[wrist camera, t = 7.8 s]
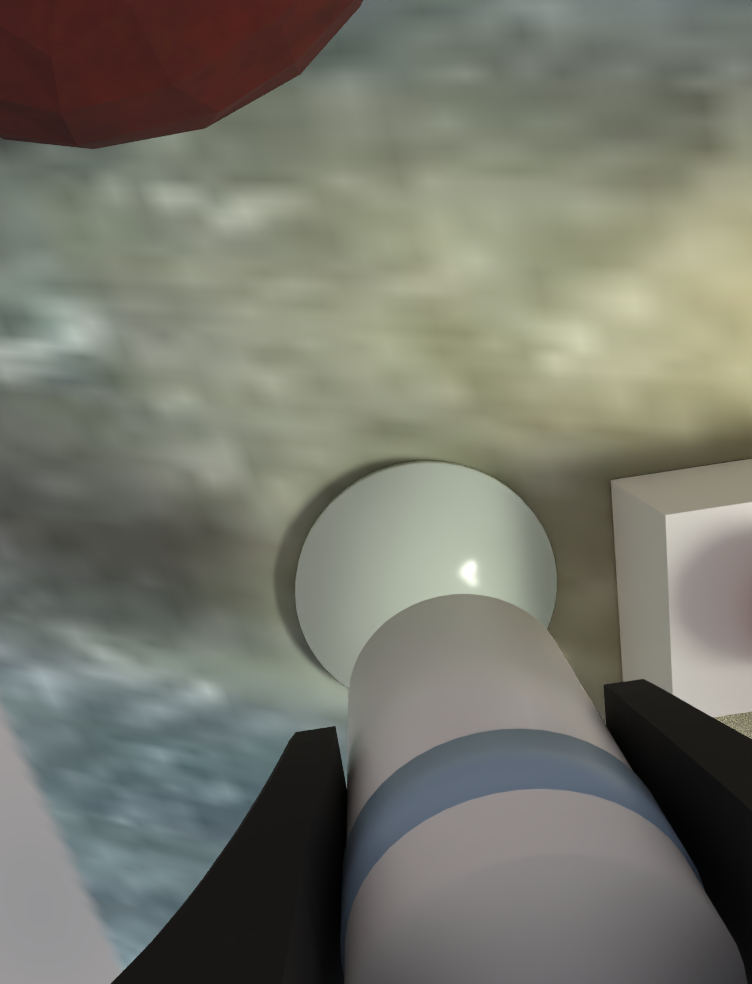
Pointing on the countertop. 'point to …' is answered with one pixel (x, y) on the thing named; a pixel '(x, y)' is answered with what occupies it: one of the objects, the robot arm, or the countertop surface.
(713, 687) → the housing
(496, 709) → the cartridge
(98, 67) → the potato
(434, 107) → the countertop surface
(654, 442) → the countertop surface
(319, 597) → the pale green dome
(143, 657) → the countertop surface
